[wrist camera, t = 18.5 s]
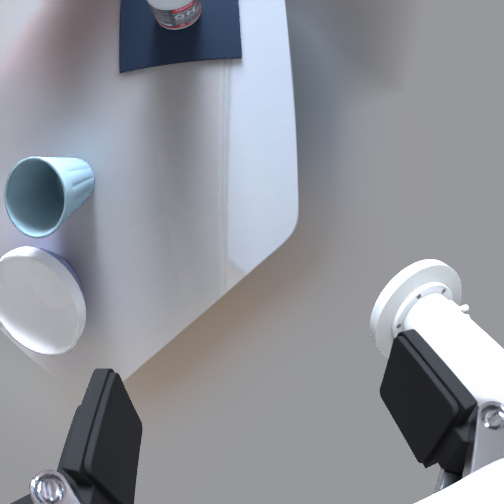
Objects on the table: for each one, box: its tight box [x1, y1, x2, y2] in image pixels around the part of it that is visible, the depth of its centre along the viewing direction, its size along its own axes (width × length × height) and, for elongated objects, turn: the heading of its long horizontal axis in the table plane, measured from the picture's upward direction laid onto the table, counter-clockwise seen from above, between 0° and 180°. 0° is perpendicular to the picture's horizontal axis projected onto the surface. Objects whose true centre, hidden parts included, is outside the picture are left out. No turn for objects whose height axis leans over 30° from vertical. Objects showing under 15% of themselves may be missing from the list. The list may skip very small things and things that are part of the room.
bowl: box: [0, 247, 86, 356], centre depth 33 cm, size 14×14×8 cm
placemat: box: [119, 0, 242, 73], centre depth 26 cm, size 14×14×1 cm
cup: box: [4, 157, 95, 238], centre depth 27 cm, size 8×8×10 cm
